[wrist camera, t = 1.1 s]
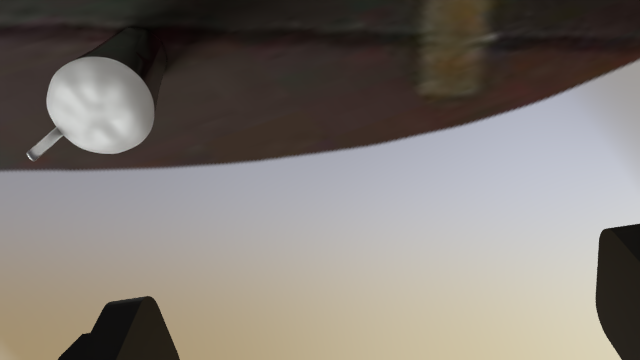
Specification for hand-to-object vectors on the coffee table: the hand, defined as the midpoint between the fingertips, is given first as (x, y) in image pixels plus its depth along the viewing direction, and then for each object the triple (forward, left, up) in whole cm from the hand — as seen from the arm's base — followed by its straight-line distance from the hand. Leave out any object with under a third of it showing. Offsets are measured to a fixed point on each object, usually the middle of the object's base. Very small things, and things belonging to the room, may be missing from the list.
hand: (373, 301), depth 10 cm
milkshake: (-10, -3, -24) cm, 26 cm away
